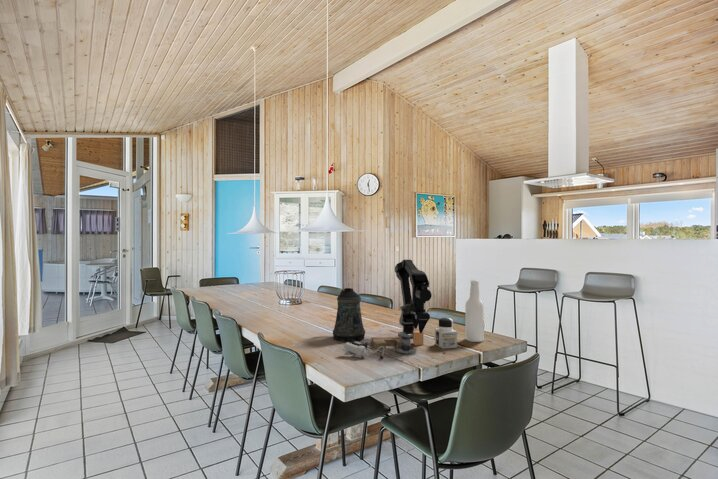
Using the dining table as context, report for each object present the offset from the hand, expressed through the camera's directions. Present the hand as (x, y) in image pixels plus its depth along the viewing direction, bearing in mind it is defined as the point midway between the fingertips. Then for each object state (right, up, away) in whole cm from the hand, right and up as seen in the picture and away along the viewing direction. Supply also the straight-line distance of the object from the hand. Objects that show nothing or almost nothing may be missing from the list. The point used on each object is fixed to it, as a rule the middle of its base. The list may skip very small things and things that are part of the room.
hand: (418, 330), depth 191 cm
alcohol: (+29, -7, +7) cm, 31 cm away
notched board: (-14, -6, -2) cm, 15 cm away
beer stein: (-35, -6, +12) cm, 37 cm away
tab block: (0, -6, 0) cm, 6 cm away
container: (+13, -7, -4) cm, 15 cm away
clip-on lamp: (-25, -7, -20) cm, 33 cm away
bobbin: (-7, -6, -13) cm, 16 cm away
